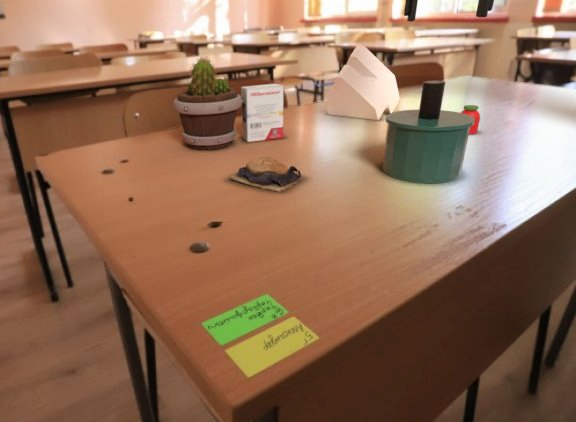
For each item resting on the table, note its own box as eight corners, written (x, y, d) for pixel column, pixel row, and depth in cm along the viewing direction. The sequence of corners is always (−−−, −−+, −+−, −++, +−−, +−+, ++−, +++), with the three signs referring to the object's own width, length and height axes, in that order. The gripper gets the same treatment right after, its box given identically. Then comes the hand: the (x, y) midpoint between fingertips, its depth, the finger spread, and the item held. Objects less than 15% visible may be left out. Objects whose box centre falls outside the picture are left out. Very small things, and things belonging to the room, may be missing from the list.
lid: (461, 116, 71) (469, 75, 68) (483, 135, 60) (494, 87, 57) (381, 116, 75) (386, 77, 72) (388, 134, 64) (394, 89, 61)
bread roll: (226, 181, 73) (225, 161, 71) (255, 167, 78) (255, 148, 76) (279, 194, 66) (279, 172, 64) (306, 178, 71) (307, 157, 70)
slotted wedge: (333, 124, 117) (314, 76, 105) (351, 95, 120) (334, 44, 107) (381, 131, 108) (366, 78, 95) (400, 99, 110) (388, 44, 98)
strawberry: (474, 129, 91) (479, 104, 89) (479, 134, 88) (485, 108, 86) (453, 129, 92) (458, 104, 90) (457, 134, 89) (462, 108, 87)
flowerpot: (187, 135, 103) (180, 49, 95) (248, 136, 99) (247, 45, 91) (167, 153, 90) (157, 55, 82) (236, 154, 86) (233, 51, 78)
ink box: (276, 133, 99) (277, 82, 94) (283, 138, 95) (284, 85, 90) (241, 137, 98) (240, 85, 93) (247, 142, 94) (246, 88, 89)
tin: (450, 161, 74) (459, 113, 70) (467, 185, 64) (479, 130, 60) (380, 159, 77) (385, 113, 74) (385, 181, 67) (392, 129, 64)
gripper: (402, -116, 56) (386, 23, 63) (556, -138, 51) (520, 15, 59) (396, -103, 63) (382, 22, 70) (532, -121, 58) (502, 15, 65)
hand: (445, 19), depth 64 cm, fingers open, 9 cm apart
